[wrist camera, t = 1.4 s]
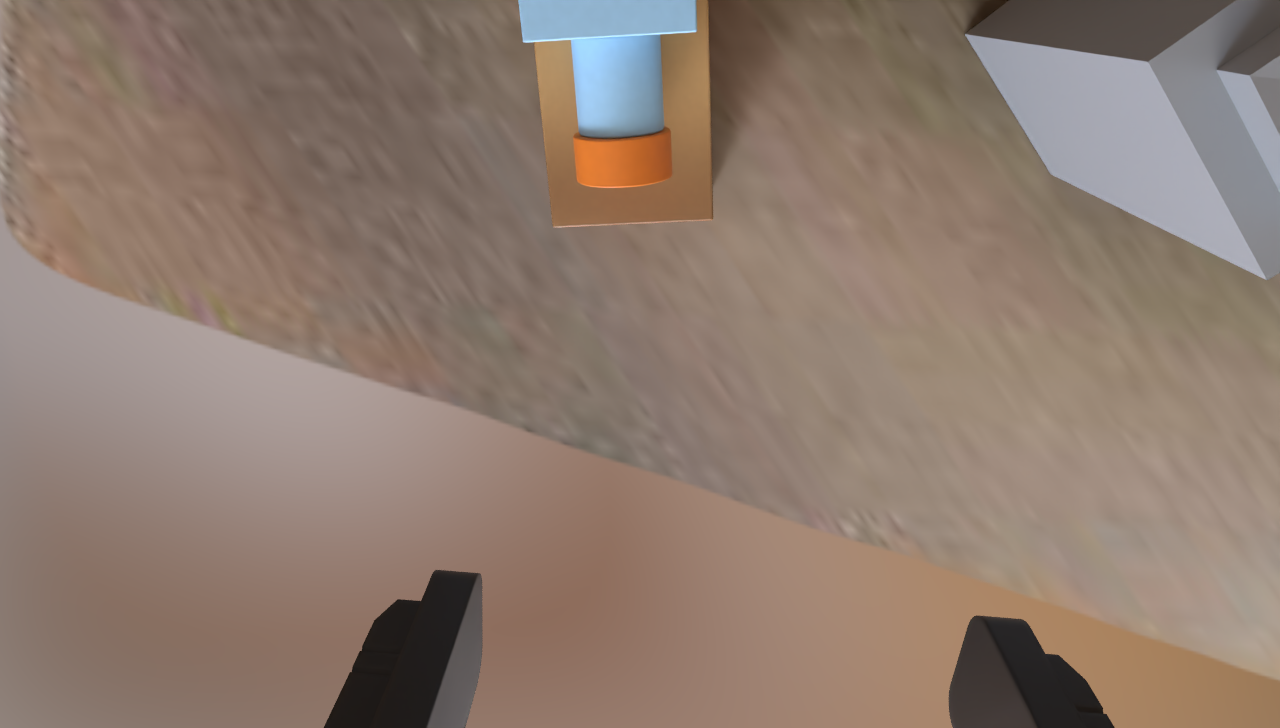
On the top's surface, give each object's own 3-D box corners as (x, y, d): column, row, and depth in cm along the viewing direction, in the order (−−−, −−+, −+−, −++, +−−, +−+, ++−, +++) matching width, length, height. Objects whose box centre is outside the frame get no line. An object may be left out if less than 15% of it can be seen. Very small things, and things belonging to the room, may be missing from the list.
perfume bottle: (1213, 62, 32) (1789, 140, 15) (1050, 174, 34) (1407, 349, 17) (1132, -94, 30) (1695, -198, 13) (964, 34, 32) (1274, 81, 15)
